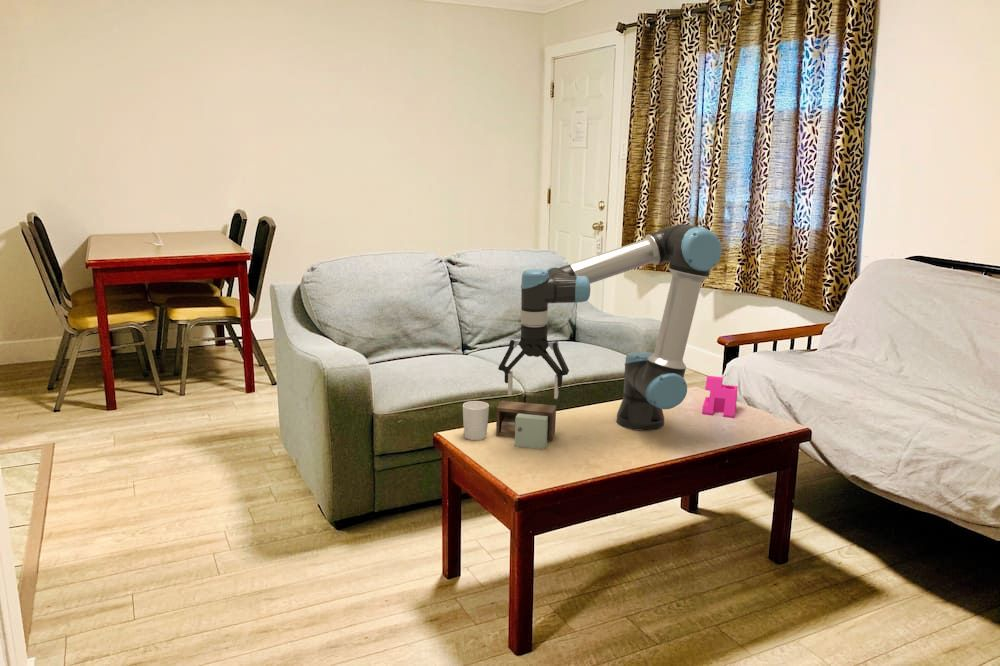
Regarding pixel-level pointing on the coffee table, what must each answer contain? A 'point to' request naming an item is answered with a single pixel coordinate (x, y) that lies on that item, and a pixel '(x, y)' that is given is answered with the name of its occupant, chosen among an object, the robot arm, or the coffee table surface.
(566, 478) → the coffee table surface
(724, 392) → the pink notched block
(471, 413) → the white cup
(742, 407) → the coffee table surface
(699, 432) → the coffee table surface
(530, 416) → the sage door
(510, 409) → the walnut cabinet
